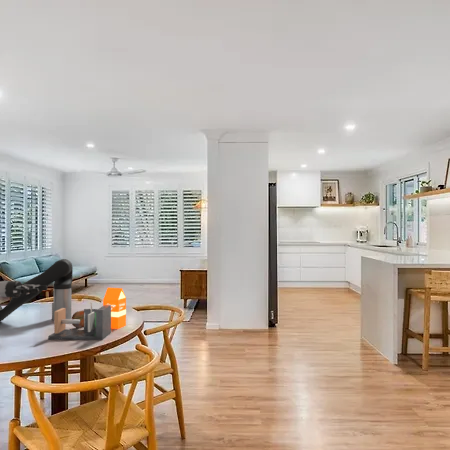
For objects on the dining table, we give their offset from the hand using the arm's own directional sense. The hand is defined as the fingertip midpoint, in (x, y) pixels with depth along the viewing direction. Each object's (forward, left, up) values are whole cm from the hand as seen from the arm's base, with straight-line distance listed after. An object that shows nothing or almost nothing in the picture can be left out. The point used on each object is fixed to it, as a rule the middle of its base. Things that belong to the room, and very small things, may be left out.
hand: (42, 289), depth 184 cm
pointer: (+23, 0, -19) cm, 30 cm away
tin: (+12, +20, -22) cm, 32 cm away
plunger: (+12, 0, -19) cm, 23 cm away
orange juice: (+28, +19, -22) cm, 41 cm away
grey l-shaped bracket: (+18, +1, -22) cm, 28 cm away
